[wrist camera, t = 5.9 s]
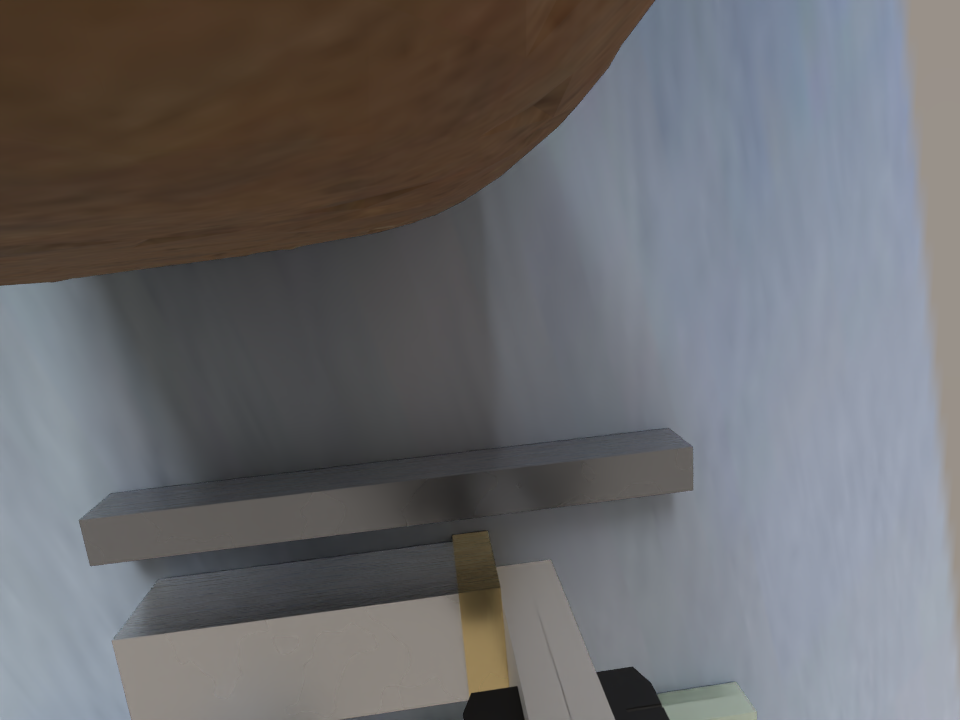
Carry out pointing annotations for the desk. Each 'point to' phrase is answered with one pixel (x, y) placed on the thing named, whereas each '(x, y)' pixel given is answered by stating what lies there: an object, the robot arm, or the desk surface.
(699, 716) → the tray
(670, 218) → the desk surface
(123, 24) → the block
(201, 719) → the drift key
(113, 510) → the rail
